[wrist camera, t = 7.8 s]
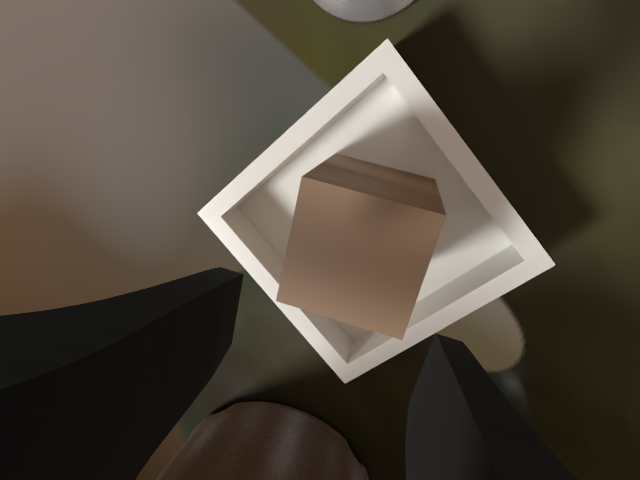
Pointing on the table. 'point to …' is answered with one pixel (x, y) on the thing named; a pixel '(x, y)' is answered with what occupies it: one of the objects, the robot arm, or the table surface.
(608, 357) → the table surface
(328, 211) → the block
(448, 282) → the tray
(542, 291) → the table surface
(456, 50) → the table surface
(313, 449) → the plant pot
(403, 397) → the table surface
